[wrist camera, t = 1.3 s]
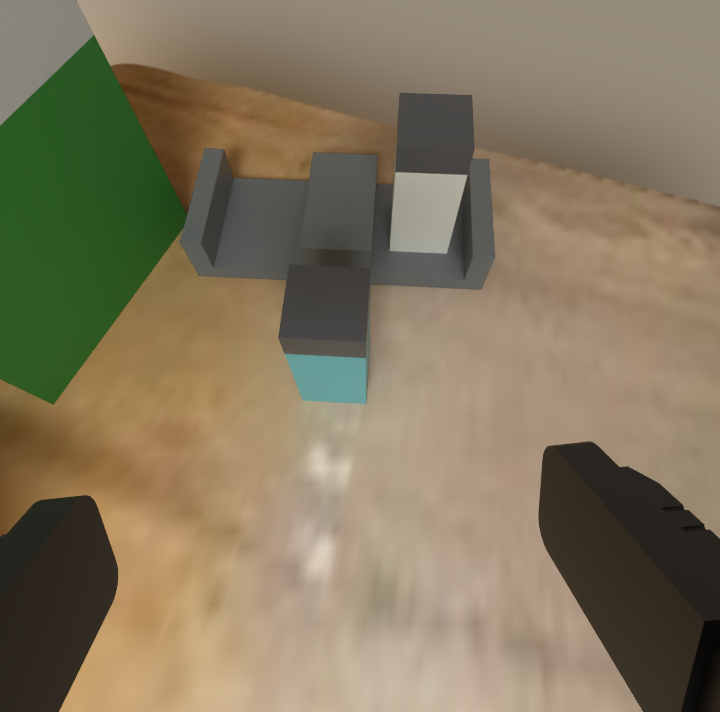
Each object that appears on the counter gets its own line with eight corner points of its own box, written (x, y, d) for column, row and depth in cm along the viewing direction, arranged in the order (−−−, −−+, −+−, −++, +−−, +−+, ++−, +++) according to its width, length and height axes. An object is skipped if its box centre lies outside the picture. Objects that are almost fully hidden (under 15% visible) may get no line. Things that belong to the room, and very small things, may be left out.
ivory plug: (446, 208, 38) (471, 95, 29) (446, 253, 36) (474, 148, 27) (391, 206, 38) (399, 92, 29) (389, 251, 36) (397, 145, 27)
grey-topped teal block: (369, 346, 34) (370, 268, 25) (366, 404, 33) (365, 342, 23) (309, 343, 34) (289, 264, 25) (303, 400, 33) (278, 337, 24)
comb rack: (477, 198, 40) (488, 159, 36) (481, 289, 36) (495, 257, 32) (220, 187, 40) (204, 148, 37) (199, 275, 37) (179, 242, 33)
